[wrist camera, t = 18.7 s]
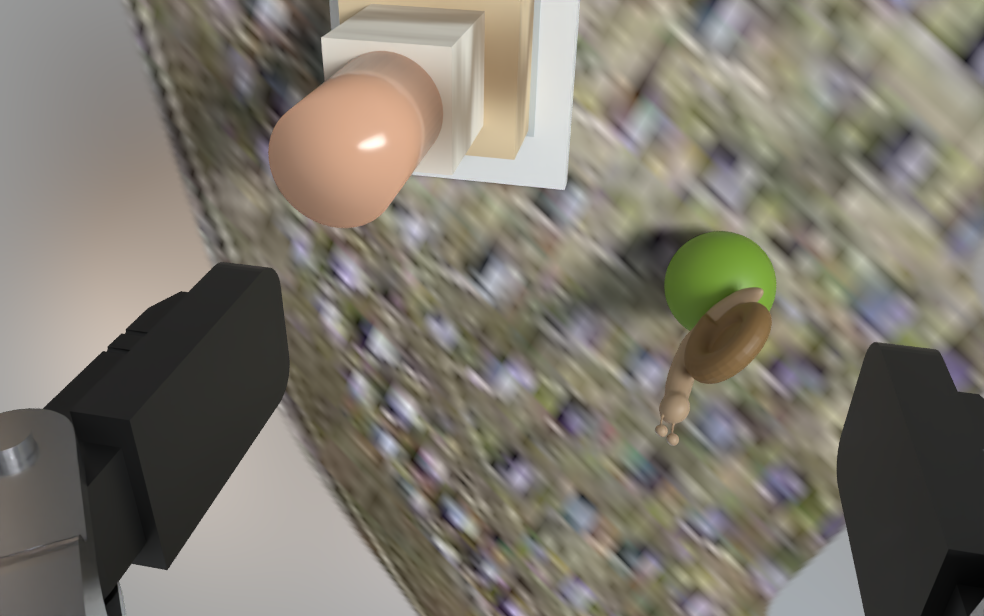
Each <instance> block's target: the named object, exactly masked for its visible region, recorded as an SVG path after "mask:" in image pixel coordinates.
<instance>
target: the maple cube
mask: <svg viewBox="0 0 984 616" xmlns="http://www.w3.org/2000/svg"><path fill="white" fill-rule="evenodd" d="M321 43H322V55H323V67H324V79H325V81H326V80H327V79H329V78H330V77H331V76H332V75H334V74H335V73H336V72H337V71H339V70H340V69H341V68H342V67H344V66H345V65H346V64H347V63H349V62H350V61H351V60H353V59H354V58H356V57H357V56H360V55H362V54H364V53H368V52H373V51H389V52H394V53H398V54H401V55H403V56H406V57H408V58H409V59H411V60H413V61H414V62H416V63H417V64H418V65H420V66H421V67H422V68H423V69H424V70H425V71H426V72H427V73H428V75H429V76H430V77H431V78H432V80H433V81H434V83H435V85H436V87H437V89H438V91H439V94H440V97H441V100H442V105H443V123H442V128H441V131H440V134H439V136H438V138H437V140H436V141H435V143H434V144H433V146H432V147H431V148H430V150H429V151H428V153H427V154H426V155H425V157H424V158H423V159H422V161H421V162H420V164H419V165H418V166H417V168H416V169H415V170H414V172H421V173H432V174H442V175H453V174H454V172H455V170H456V169H457V167H458V166H459V164H460V162H461V161H462V159H463V157H464V156H465V154H466V153H467V151H468V149H469V148H470V146H471V145H472V143H473V141H474V140H475V138H476V136H477V135H478V133H479V132H480V130H481V128H482V127H483V118H484V48H485V11H476V10H461V9H445V8H430V7H414V6H399V5H383V4H370V5H369V6H367V7H366V8H364V9H363V10H361V11H360V12H358V13H357V14H355V15H354V16H352V17H351V18H349V19H348V20H346V21H345V22H344V23H342V24H341V25H339V26H338V27H336V28H335V29H333V30H332V31H330V32H329V33H327V34H326V35H324V36H323V37H321Z"/></svg>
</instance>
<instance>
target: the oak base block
mask: <svg viewBox="0 0 984 616" xmlns="http://www.w3.org/2000/svg"><path fill="white" fill-rule="evenodd" d="M370 4H383V5H399V6H414V7H430V8H445V9H461V10H476V11H485V48H484V118H483V127H482V128H481V130H480V132H479V133H478V135H477V136H476V138H475V140H474V141H473V143H472V145H471V146H470V148H469V149H468V151H467V153H466V154H465V155H469V156H479V157H490V158H500V159H511V160H515V158H516V155H517V153H518V151H519V149H520V147H521V145H522V143H523V141H524V139H525V137H526V135H527V132H528V127H529V106H530V84H531V62H532V40H533V19H534V0H338V6H339V21H340V25H341V24H342V23H344V22H345V21H346V20H348V19H349V18H351V17H352V16H354V15H355V14H357V13H358V12H360V11H361V10H363V9H364V8H366V7H367V6H369V5H370Z"/></svg>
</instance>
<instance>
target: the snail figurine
mask: <svg viewBox="0 0 984 616" xmlns="http://www.w3.org/2000/svg"><path fill="white" fill-rule="evenodd" d="M664 289H665V296H666V300H667V304H668V306H669V308H670V310H671V312H672V314H673V315H674V317H675V318H676V319H677V320H678V322H679V323H680V324H681V325H683V326H684V327H685V328H686V329H688V330H689V331H690V332H689V333H688V334H687V335H686V336H685V338H684V339H683V341H682V342H681V344H680V346H679V348H678V350H677V353H676V355H675V357H674V359H673V362H672V364H671V367H670V370H669V373H668V377H667V381H666V387H665V396H664V398H663V399H662V401H661V403H660V407H659V411H660V416H661V421H660V425H658V426H657V427H656V428H655V432H656V433H657V435H658V436H660V437H664V436H666V434H667V432H668V429H667V427H666V426H665V425H662V420H664V421H665V422H667V423H671V424H672V430H671V434H669V435H668V436H667V438H666V440H667V442H668V443H669V444H670V445H672V446H674V445H676V444H678V442H679V438H678V436H677V435H676V434H674V433H673V429H674V425H675V424H676V423H679V422H681V421H683V420H684V419H685V418H686V417H687V415H688V413H689V410H690V404H689V401H688V398H689V395H690V392H691V389H692V386H693V382H694V379H695V380H697V381H699V382H701V383H706V384H713V383H719V382H722V381H725V380H727V379H729V378H731V377H732V376H734V375H736V374H737V373H739V372H740V371H741V370H743V369H744V368H745V367H746V366H747V365H748V364H749V363H750V362H751V361H752V360H753V359H754V358H755V357H756V356H757V354H758V353H759V352H760V350H761V349H762V348H763V346H764V344H765V342H766V340H767V338H768V336H769V333H770V330H771V325H772V321H771V315H770V312H769V311H770V309H771V307H772V304H773V302H774V298H775V293H776V277H775V272H774V269H773V266H772V263H771V261H770V260H769V258H768V256H767V255H766V253H765V252H764V251H763V250H762V249H761V248H760V247H759V246H758V245H757V244H756V243H755V242H753V241H752V240H750V239H748V238H746V237H744V236H742V235H739V234H736V233H732V232H725V231H717V232H709V233H705V234H702V235H699V236H697V237H695V238H693V239H691V240H690V241H688V242H687V243H685V244H684V245H683V246H682V247H681V248H680V249H679V250H678V251H677V252H676V253H675V255H674V256H673V258H672V259H671V261H670V263H669V265H668V268H667V271H666V275H665V282H664Z"/></svg>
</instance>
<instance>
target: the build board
mask: <svg viewBox="0 0 984 616" xmlns="http://www.w3.org/2000/svg"><path fill="white" fill-rule="evenodd" d="M329 5H330V19H331V31H332V30H333V29H335V28H336V27H338V26H339V25H340V21H339V6H338V0H329ZM579 8H580V0H534V19H533V40H532V62H531V84H530V106H529V127H528V132H527V135H526V137H525V139H524V141H523V143H522V145H521V147H520V149H519V151H518V153H517V155H516V158H515V160H511V159H500V158H490V157H479V156H469V155H465V156H464V157H463V159H462V161H461V162H460V164H459V166H458V167H457V169H456V170H455V172H454V174H453V175H442V174H432V173H421V172H413V173H412V175H420V176H430V177H440V178H450V179H460V180H470V181H480V182H490V183H500V184H510V185H520V186H530V187H540V188H550V189H561V190H565V187H566V184H567V174H568V160H569V146H570V132H571V119H572V105H573V91H574V77H575V63H576V50H577V36H578V22H579Z"/></svg>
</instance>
